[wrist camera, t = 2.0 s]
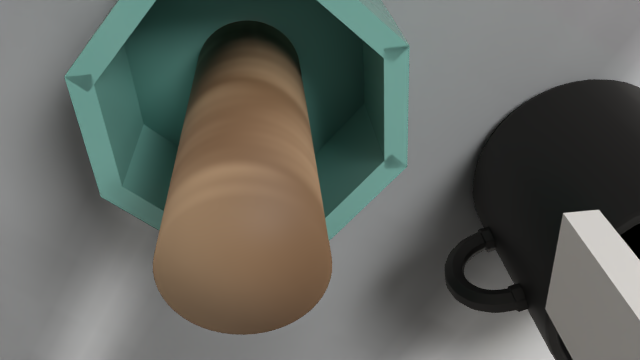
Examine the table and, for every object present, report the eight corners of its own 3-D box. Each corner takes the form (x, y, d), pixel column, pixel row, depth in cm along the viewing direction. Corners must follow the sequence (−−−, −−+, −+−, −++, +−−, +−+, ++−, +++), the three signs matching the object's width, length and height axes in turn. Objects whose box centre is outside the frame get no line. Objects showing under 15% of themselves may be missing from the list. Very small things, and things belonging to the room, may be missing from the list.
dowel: (206, 121, 25) (171, 342, 15) (188, 25, 23) (134, 206, 13) (303, 112, 25) (335, 324, 15) (295, 16, 23) (327, 187, 13)
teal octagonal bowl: (144, 186, 27) (121, 266, 23) (80, -66, 22) (32, -29, 17) (380, 163, 28) (406, 237, 23) (378, -90, 22) (411, -60, 17)
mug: (394, 138, 27) (449, 272, 19) (664, 43, 26) (837, 147, 18) (442, 286, 32) (501, 438, 24) (671, 212, 31) (809, 349, 23)
